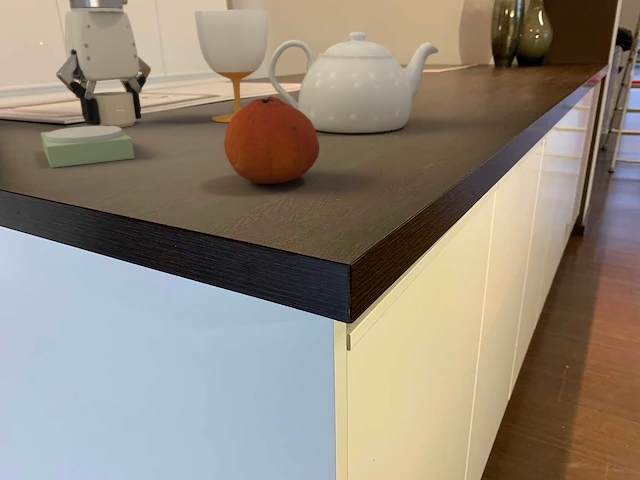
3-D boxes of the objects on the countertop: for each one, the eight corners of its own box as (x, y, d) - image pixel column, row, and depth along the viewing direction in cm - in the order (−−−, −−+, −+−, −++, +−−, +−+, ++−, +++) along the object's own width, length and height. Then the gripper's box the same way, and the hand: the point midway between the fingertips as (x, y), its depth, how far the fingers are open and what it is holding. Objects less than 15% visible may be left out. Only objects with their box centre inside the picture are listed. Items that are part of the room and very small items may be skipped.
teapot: (347, 114, 95) (347, 32, 91) (436, 124, 83) (442, 30, 79) (267, 127, 83) (262, 33, 78) (358, 141, 71) (359, 31, 66)
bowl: (84, 128, 85) (78, 96, 84) (104, 122, 92) (100, 91, 90) (125, 128, 85) (120, 95, 83) (143, 122, 91) (139, 91, 89)
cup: (286, 117, 93) (282, 10, 87) (234, 126, 85) (226, 9, 79) (242, 112, 100) (235, 13, 94) (190, 120, 92) (179, 12, 86)
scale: (44, 151, 68) (39, 127, 67) (117, 143, 73) (114, 121, 71) (50, 168, 59) (45, 141, 58) (134, 158, 64) (130, 132, 62)
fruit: (245, 199, 47) (238, 105, 44) (218, 177, 54) (211, 95, 51) (335, 186, 50) (335, 98, 47) (298, 167, 58) (296, 90, 55)
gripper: (129, 5, 90) (143, 113, 97) (26, 1, 77) (50, 126, 83) (158, 3, 86) (171, 116, 92) (54, -1, 73) (77, 130, 79)
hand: (114, 120), depth 88 cm, fingers closed on bowl, 7 cm apart
